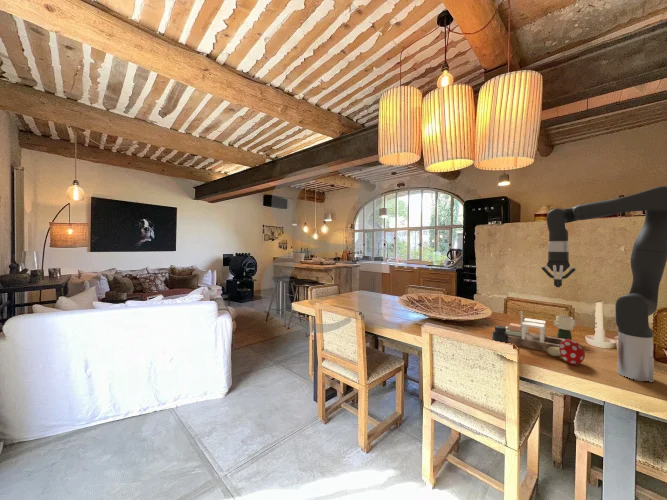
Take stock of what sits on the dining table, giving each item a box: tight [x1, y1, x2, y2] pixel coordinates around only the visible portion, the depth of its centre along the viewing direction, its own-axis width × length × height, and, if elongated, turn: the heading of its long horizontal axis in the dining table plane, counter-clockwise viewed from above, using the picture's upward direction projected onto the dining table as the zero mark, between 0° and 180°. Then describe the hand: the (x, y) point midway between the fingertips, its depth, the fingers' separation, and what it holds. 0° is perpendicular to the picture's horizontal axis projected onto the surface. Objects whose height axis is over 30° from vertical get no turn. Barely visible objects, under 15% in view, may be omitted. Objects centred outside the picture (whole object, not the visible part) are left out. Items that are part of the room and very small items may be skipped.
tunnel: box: [522, 317, 547, 343], centre depth 142 cm, size 9×14×8 cm, turn 138°
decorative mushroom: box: [546, 339, 586, 366], centre depth 123 cm, size 11×11×15 cm
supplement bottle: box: [491, 324, 508, 343], centre depth 135 cm, size 7×7×12 cm
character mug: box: [553, 314, 576, 340], centre depth 148 cm, size 11×7×13 cm, turn 85°
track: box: [508, 332, 564, 353], centre depth 142 cm, size 28×14×4 cm, turn 48°
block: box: [508, 322, 521, 332], centre depth 148 cm, size 5×5×5 cm
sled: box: [505, 310, 524, 336], centre depth 148 cm, size 8×8×13 cm
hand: (558, 287), depth 128 cm, fingers closed
